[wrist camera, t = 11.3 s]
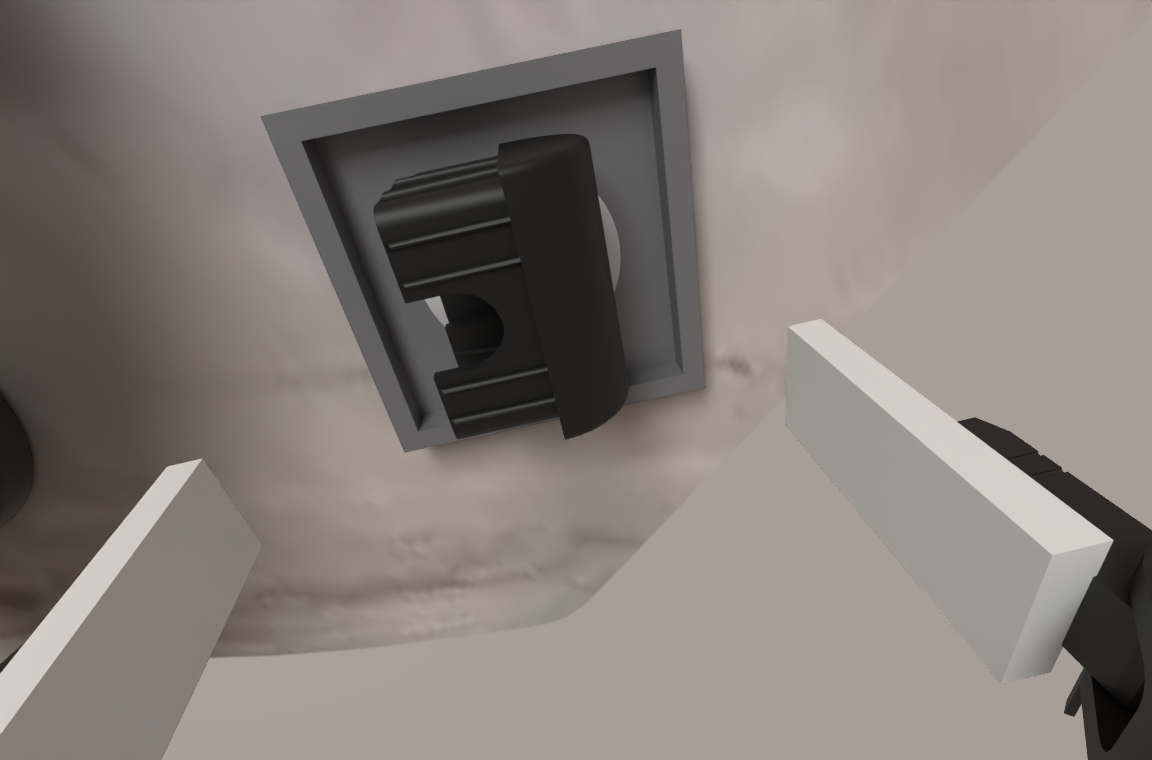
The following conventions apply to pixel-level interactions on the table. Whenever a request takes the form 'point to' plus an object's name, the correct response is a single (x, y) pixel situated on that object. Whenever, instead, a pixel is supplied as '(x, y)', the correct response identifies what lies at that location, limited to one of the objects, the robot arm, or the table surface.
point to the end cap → (514, 284)
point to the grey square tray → (474, 131)
